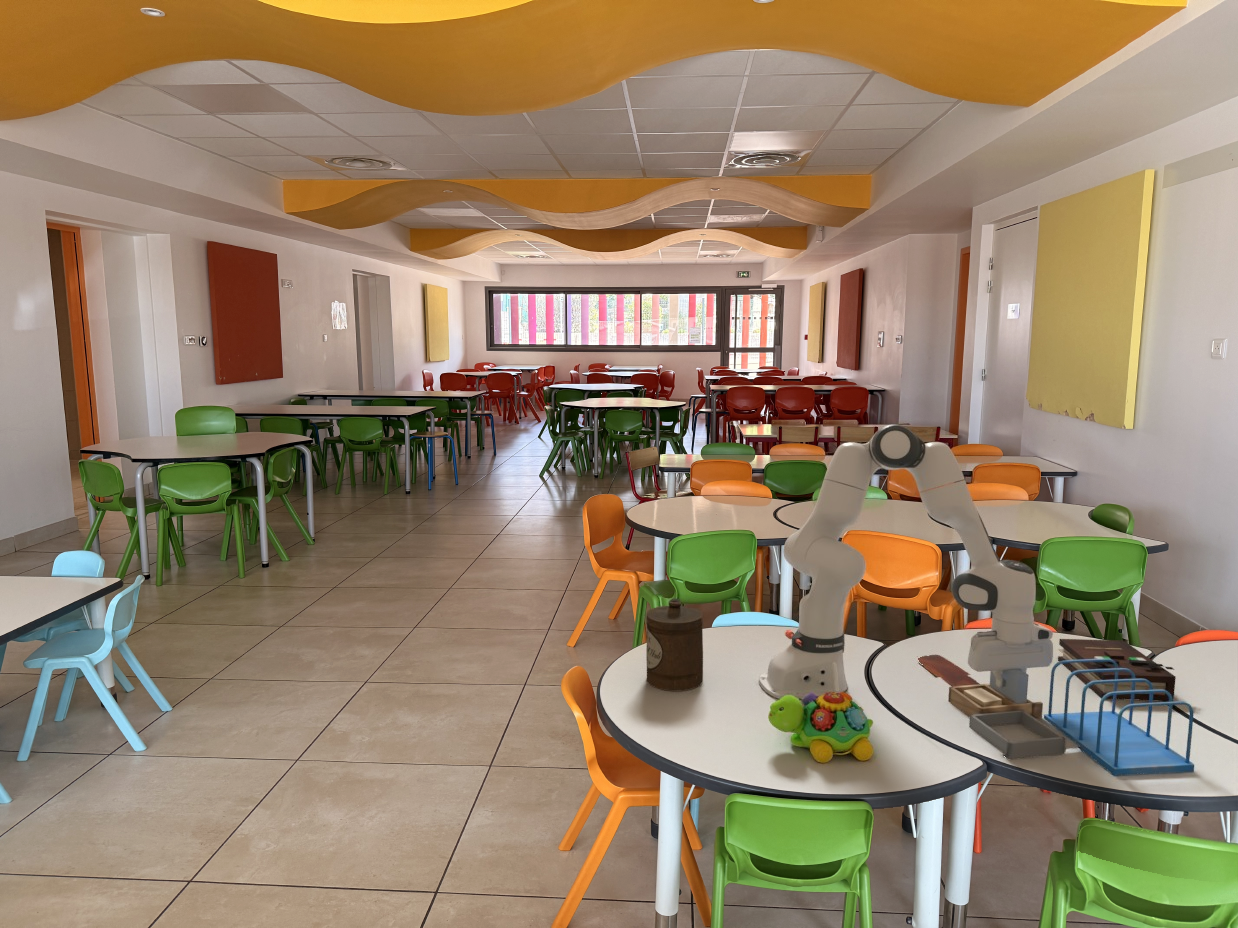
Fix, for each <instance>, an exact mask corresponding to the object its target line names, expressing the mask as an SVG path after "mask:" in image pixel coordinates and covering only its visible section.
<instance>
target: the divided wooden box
mask: <svg viewBox="0 0 1238 928" xmlns="http://www.w3.org/2000/svg"><path fill="white" fill-rule="evenodd" d="M977 688H982V689H984V690H986V691H987V692H989V693H991V694H993V695H994V696H996V697H998V698H1000V699H1002V705H1000V706H990V707H981V706H979V705H978V704H976V703H975V702H973V701H972V700H971V699H969V698H968V697H966V696H965V695H963V692H964V690H970V689H977ZM948 702H949V703H950V704H952V705H953V706H955V707H956V708H957V709H958V710H960V711H961V712H963V713H964V714H966V716H968V717H969V718H970V715H975V714H986V713H997V712H1007V711H1018V710H1023V711H1025V712H1026V713H1028V714H1029V715H1031V716H1032V717H1034V718H1036V719H1037V720H1039V719H1042V718H1043V706H1044V704H1043V702H1041V701H1035V702H1034V701H1031V700H1030V699H1028V698H1027V703H1022V704H1016V703H1014V702H1013V701H1011V700H1010V699H1008V698H1007V697H1005V696H1004V695H1002V694H1000V693H999V692H997V691H996V690H994V689H993V688H991V687H990V682H989V683H979V684H978V685H966V686H954V687H951V686H949V687H948Z"/></svg>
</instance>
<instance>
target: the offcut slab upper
mask: <svg viewBox="0 0 1238 928" xmlns="http://www.w3.org/2000/svg"><path fill="white" fill-rule="evenodd" d="M963 695H965V696H966V697H968V698H969V699H971V700H972V701H973V702H975V703H976V704H978V705H979V706H981V707H990V706H1000V705H1002V699H1000V698H998V697H996V696H994V695H993V694H991V693H989V692H987V691H986V690H984V689H982V688H977V689H970V690H964V692H963Z"/></svg>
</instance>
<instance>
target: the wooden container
mask: <svg viewBox="0 0 1238 928" xmlns="http://www.w3.org/2000/svg"><path fill="white" fill-rule="evenodd" d="M703 619H704V618H703V613H702V611H700V610H699V609H697V608H694V607H689V606H684V605H682V602H681V600H680V599H679V598H674V597H673V598H671V599H670V600H669V601H668V605H662V606H657V607H653V608H651V609H649V610H648V611H647V612H646V681H647V683H648V684H649V685H650V686H652V687H654V688H656V689H659V690H664V691H669V692H683V691H688V690H689V691H690V690H693V689H696V688H698V687H699V686H701V684H703V681H704V644H703V643H704V642H703V641H704V640H703V635H704V634H703V632H704V631H703V626H704V625H703V624H704V623H703V622H704V621H703Z"/></svg>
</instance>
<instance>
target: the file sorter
mask: <svg viewBox="0 0 1238 928" xmlns="http://www.w3.org/2000/svg"><path fill="white" fill-rule="evenodd" d="M1103 661H1105V662H1106V661H1110V662H1113V663H1114V665H1115V669H1090V670H1077V671H1074V672H1070V674H1069V675H1068V676H1067V678H1066V682H1065V683H1066V684H1065V693H1064V694H1065V695H1064V697H1065V698H1064V709H1063V712H1062V713H1052V712H1053V711H1052V710H1053V709H1052V708H1053V696H1054V681H1055V680H1054V679H1055V672H1056V669H1057V668H1058V667H1059V666H1061V665H1063V663H1079V662H1103ZM1112 671H1115V680H1097V681H1091V682H1089V683H1088V684H1086V685H1085V686H1084V687H1083V689H1082V693H1081V704H1080V705H1081V707H1080V712H1068V708H1069V697H1070V696H1069V694H1070V683H1071V679H1072V678H1073V677H1074V676H1075V674H1077V673H1089V672H1112ZM1118 671H1128V672H1130V673H1131V675H1132V679H1118ZM1118 682H1132V691H1117V684H1118ZM1135 682H1147V683H1148V684H1149V686H1150V690H1135ZM1049 683H1050V685H1049V697H1048V713H1046V714H1044V715H1043V719H1044V720H1045V721H1046V722H1048V724H1051V726H1053V727H1054V728H1056V730H1058V731H1059V732H1061V733H1062V734H1063V735H1064V736H1066V737H1068V738H1069V739H1070V740H1071V741H1073V743H1075V744H1077V745H1078V746H1077V748H1078V749H1079V750H1080V751H1082V752H1083V753H1085V754H1086V755H1087V756H1089V758H1091V759H1092V760H1093V761H1095V762H1096V763H1097V764H1098V765H1099V766H1101V767H1102V768H1103V769H1105V770H1106V771H1108V773H1110V774H1111V775H1113V776H1114V777H1116V776H1117V777H1119V776H1120V777H1121V776H1135V775H1136V776H1137V775H1152V774H1153V775H1154V774H1155V775H1156V774H1172V773H1173V774H1174V773H1188V772H1191V773H1193V772H1194V771H1195V763H1194V762H1191V761H1190V758H1191V750H1192V749H1191V748H1192V736H1193V725H1194V724H1193V723H1194V709H1193V706H1192V705H1191V704H1190V703H1188V702H1186V701H1174V700H1173V698H1172V696H1171V694H1170V693H1169V692H1167V691H1165V690H1160V689H1159V690H1153V685H1152V683H1151V682H1150V681H1148V680H1146V679H1136V678H1135V674H1134V673H1133V672H1132V671H1131V670H1129V669H1127V668H1118V665H1117V663H1116V662H1115V661H1113V660H1112V659H1083V660H1064V661H1058V662H1056V663H1055V664H1054V665H1053V666H1052V669H1051V672H1050V682H1049ZM1099 683H1114V692H1109V693H1107V694H1105V695H1104V696H1103V697H1102V699H1101V698H1100V702H1099V708H1098V709H1099V710H1098V711H1085V707H1086V705H1085V704H1086V696H1087V695H1086V694H1087V690H1088V689H1089V686H1091V685H1093V684H1099ZM1139 693H1150V697H1149V700H1148V702H1143V703H1142V702H1141V703H1134V702H1135V700H1134V694H1139ZM1153 693H1166V694H1167V695H1168V697H1169V701H1157V702H1154V701H1153ZM1119 694H1131V700H1130V703H1129V704H1127V705H1125V706H1123V707H1122V708H1121V709H1120V711H1119V712H1116V704H1117V699H1116V695H1119ZM1111 695H1113V699H1112V705H1111V710H1106V711H1105V710H1103V709H1104V703H1105V701H1106V700H1107V699H1106V698H1107V697H1109V696H1111ZM1177 705H1181V706H1182V705H1184V706H1186V707H1187V708H1188V710H1189V717H1188V718H1189V719H1188V720H1189V721H1188V731H1187V740H1186V751H1185V757H1184V756H1183V755H1181V754H1180V753H1178V752H1177V751H1175V750H1174V749H1172V748H1171V747H1170V737H1171V727H1172V715H1173V706H1177ZM1158 706H1159V707H1160V706H1168V713H1167V719H1166V720H1167V722H1166V723H1167V724H1166V734H1165V735H1166V736H1165V743H1164V742H1162V741H1160V740H1158V739H1157V738H1156V737H1154V736H1152V735H1151V724H1152V716H1153V715H1152V714H1153V707H1158ZM1140 707H1142V708H1143V707H1148V711H1147V722H1146V731H1145V730H1143V729H1142V728H1140V727H1139V726H1137V725H1136V724H1134V723H1133V714H1134V708H1140ZM1128 709H1129V714H1128V719H1127V718H1126V717H1124V716H1123V714H1124V713H1125V712H1126V711H1127V710H1128Z"/></svg>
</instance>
